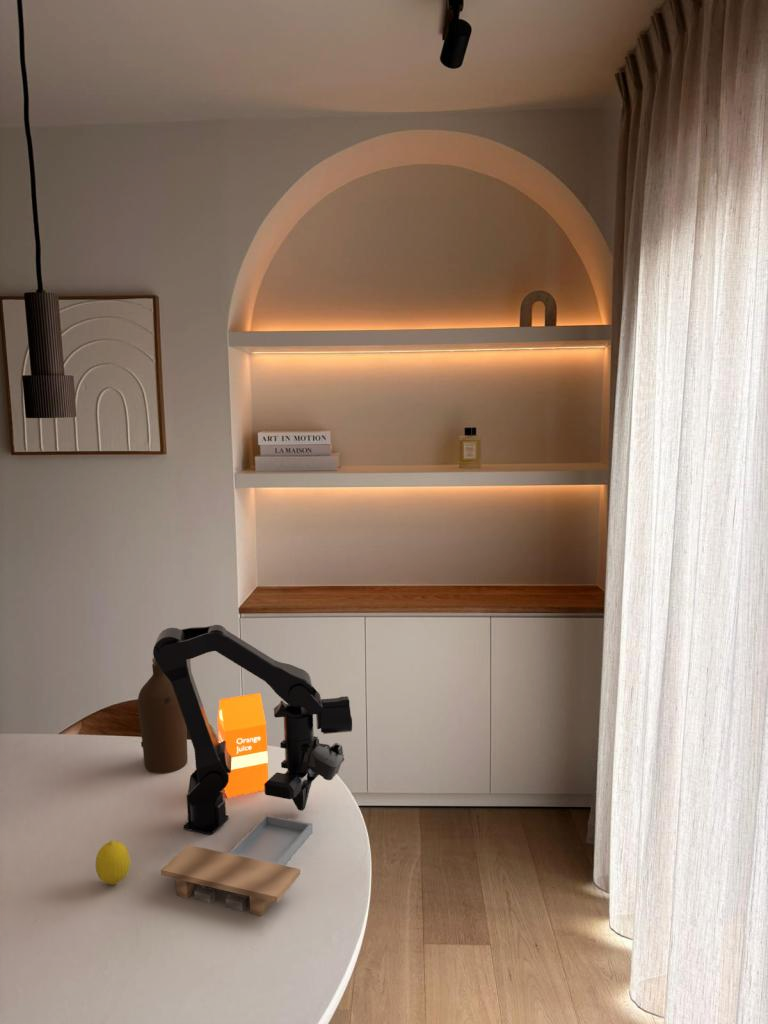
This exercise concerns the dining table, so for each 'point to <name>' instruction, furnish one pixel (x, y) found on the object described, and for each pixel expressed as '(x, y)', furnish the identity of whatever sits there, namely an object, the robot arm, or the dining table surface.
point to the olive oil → (161, 725)
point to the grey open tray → (273, 840)
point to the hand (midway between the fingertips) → (301, 809)
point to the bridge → (229, 878)
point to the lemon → (112, 862)
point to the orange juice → (244, 743)
